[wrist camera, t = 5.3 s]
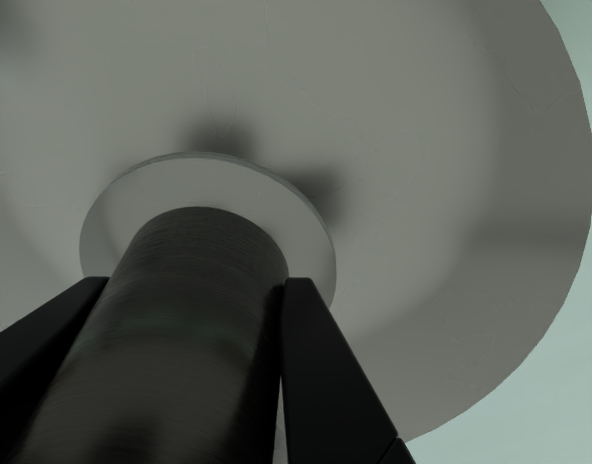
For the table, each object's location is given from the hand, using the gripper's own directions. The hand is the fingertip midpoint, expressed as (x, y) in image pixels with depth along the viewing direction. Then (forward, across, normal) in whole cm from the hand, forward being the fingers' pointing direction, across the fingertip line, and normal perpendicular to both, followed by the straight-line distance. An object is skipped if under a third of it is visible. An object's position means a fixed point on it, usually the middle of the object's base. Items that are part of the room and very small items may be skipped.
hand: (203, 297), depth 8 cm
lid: (+2, 0, 0) cm, 2 cm away
